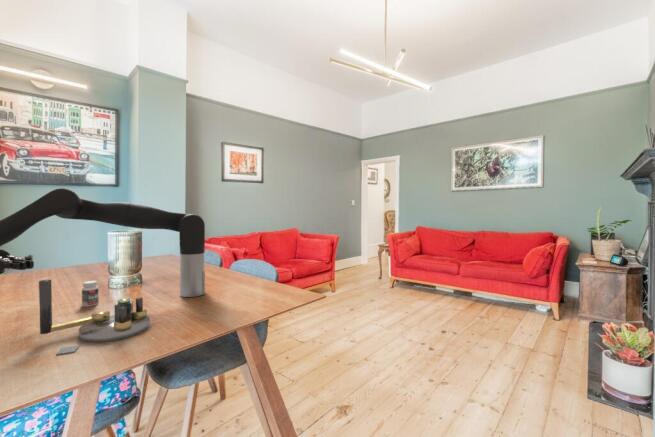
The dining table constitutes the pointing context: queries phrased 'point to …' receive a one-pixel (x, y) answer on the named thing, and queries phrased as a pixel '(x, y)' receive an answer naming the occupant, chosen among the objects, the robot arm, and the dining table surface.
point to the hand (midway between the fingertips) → (28, 265)
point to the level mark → (67, 350)
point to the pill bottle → (90, 294)
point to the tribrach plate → (108, 332)
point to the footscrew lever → (46, 312)
